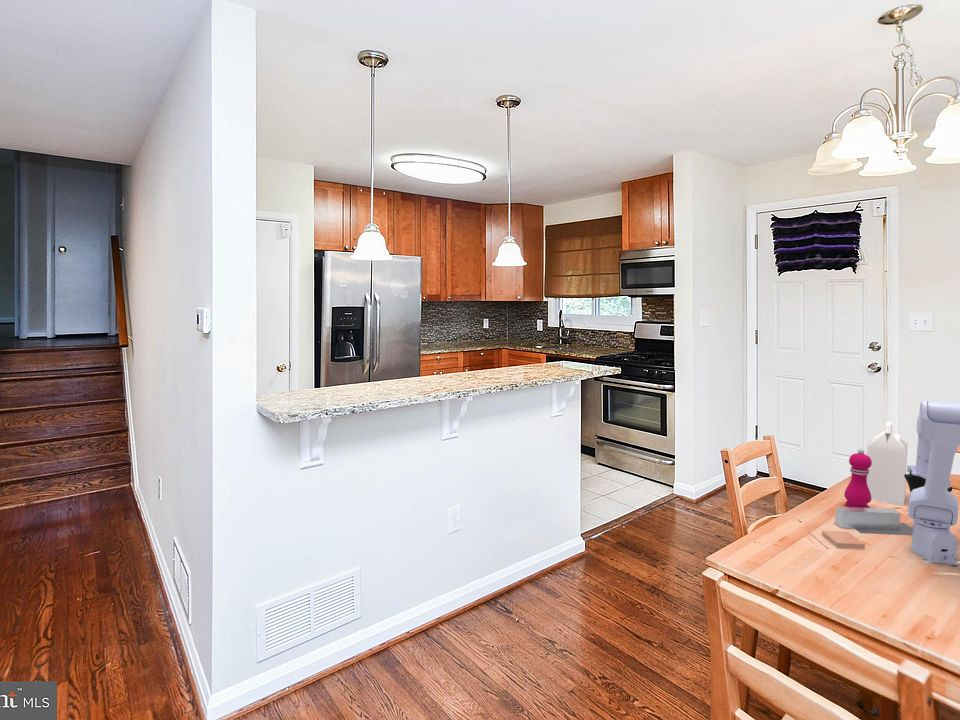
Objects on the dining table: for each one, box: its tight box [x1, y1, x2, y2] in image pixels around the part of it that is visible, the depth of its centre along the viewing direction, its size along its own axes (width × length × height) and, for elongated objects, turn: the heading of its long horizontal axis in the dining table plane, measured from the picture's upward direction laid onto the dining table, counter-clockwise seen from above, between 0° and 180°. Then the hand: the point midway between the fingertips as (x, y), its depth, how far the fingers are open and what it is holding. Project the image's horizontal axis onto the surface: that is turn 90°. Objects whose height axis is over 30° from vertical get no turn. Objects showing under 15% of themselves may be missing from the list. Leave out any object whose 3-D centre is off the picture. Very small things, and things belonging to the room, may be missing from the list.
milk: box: [866, 421, 908, 507], centre depth 188 cm, size 12×12×26 cm
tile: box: [821, 530, 866, 550], centre depth 153 cm, size 2×7×8 cm
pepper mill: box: [843, 448, 872, 508], centre depth 178 cm, size 7×7×20 cm
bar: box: [834, 506, 901, 530], centre depth 163 cm, size 4×16×5 cm, turn 86°
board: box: [853, 522, 913, 536], centre depth 162 cm, size 9×17×1 cm, turn 84°
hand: (925, 504), depth 158 cm, fingers open, 7 cm apart
